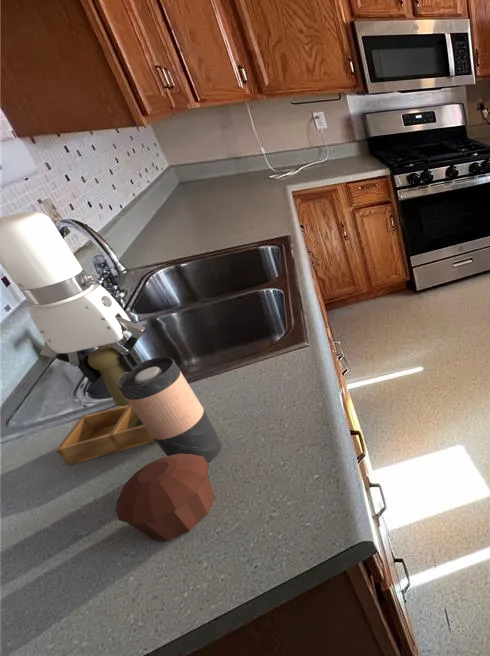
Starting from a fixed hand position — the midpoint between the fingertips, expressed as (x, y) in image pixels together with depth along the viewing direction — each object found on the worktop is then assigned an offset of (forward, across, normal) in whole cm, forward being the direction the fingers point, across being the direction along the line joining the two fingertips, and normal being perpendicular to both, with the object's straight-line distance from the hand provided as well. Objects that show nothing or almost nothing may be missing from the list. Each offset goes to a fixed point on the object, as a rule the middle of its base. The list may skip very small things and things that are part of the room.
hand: (116, 372), depth 76 cm
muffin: (+15, -12, +24) cm, 30 cm away
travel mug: (+15, -11, +12) cm, 22 cm away
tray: (+15, +4, 0) cm, 15 cm away
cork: (+6, 0, 0) cm, 6 cm away
